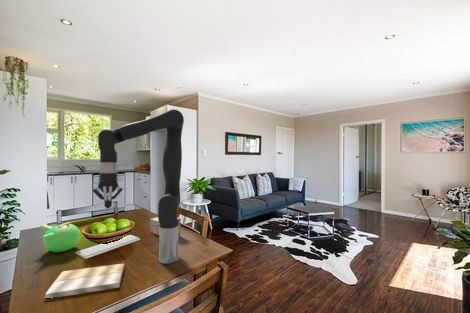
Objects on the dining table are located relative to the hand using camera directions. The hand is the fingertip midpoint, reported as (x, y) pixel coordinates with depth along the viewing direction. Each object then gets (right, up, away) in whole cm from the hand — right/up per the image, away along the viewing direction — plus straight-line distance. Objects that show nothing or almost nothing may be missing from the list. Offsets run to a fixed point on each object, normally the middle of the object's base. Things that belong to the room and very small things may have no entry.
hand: (108, 207), depth 107 cm
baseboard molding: (-10, -27, +20) cm, 35 cm away
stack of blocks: (+15, -27, +40) cm, 50 cm away
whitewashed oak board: (+2, -27, -18) cm, 33 cm away
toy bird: (-33, -26, +13) cm, 44 cm away
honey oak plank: (-1, -27, -10) cm, 29 cm away
